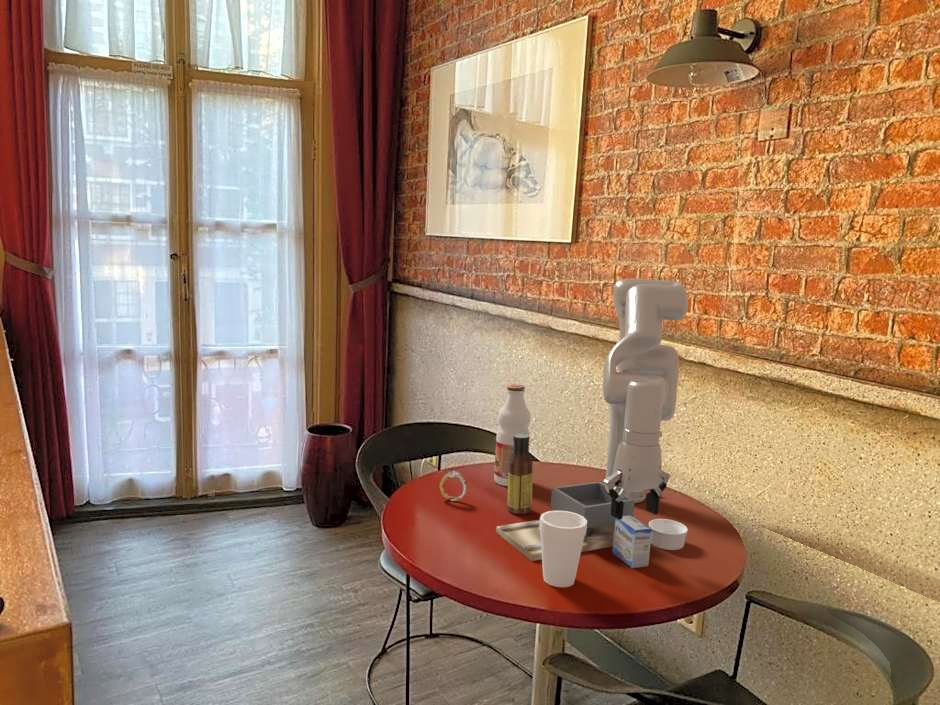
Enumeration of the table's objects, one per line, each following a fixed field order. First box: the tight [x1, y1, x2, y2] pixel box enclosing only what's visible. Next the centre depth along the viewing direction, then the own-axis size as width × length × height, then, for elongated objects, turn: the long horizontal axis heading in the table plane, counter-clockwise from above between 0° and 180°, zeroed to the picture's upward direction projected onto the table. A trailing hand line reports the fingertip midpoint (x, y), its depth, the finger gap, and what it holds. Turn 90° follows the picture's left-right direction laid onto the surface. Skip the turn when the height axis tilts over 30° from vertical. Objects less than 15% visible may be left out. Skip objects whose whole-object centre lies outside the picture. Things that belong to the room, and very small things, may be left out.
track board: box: [495, 519, 615, 562], centre depth 166 cm, size 30×16×2 cm, turn 117°
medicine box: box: [611, 515, 652, 569], centre depth 155 cm, size 8×4×9 cm, turn 21°
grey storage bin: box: [550, 481, 636, 536], centre depth 168 cm, size 14×14×7 cm
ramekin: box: [648, 518, 689, 551], centre depth 165 cm, size 9×9×4 cm
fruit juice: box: [493, 383, 531, 487], centre depth 200 cm, size 9×9×28 cm
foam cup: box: [539, 510, 587, 588], centre depth 144 cm, size 10×9×13 cm
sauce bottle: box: [507, 434, 534, 515], centre depth 179 cm, size 7×6×20 cm
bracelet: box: [439, 470, 468, 502], centre depth 185 cm, size 7×3×8 cm, turn 74°
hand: (634, 514), depth 154 cm, fingers open, 9 cm apart
